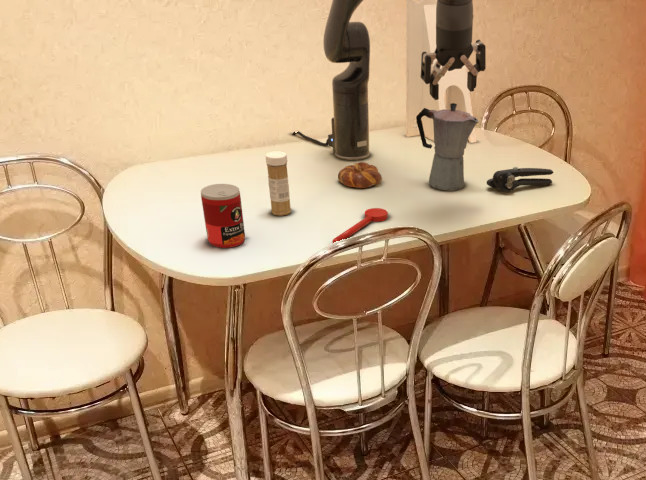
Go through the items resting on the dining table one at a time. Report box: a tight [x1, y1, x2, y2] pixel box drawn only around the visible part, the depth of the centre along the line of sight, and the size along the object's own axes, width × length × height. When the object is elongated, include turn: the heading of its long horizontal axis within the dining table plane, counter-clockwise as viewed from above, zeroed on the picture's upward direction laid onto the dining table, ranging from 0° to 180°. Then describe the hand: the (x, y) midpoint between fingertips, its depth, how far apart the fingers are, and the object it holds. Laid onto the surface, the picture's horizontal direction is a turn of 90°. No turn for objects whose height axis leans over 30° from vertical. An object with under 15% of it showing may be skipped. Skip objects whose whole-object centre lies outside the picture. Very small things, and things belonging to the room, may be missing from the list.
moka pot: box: [415, 103, 480, 192], centre depth 187 cm, size 10×15×20 cm, turn 78°
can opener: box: [486, 166, 554, 193], centre depth 191 cm, size 18×7×6 cm, turn 114°
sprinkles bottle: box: [265, 150, 292, 216], centre depth 172 cm, size 5×5×14 cm
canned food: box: [200, 183, 246, 249], centre depth 159 cm, size 8×8×11 cm
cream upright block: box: [405, 0, 477, 144], centre depth 215 cm, size 20×14×40 cm
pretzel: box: [337, 161, 383, 189], centre depth 193 cm, size 12×11×4 cm
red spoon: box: [331, 207, 389, 244], centre depth 169 cm, size 20×5×1 cm, turn 154°
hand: (452, 94), depth 170 cm, fingers open, 8 cm apart
